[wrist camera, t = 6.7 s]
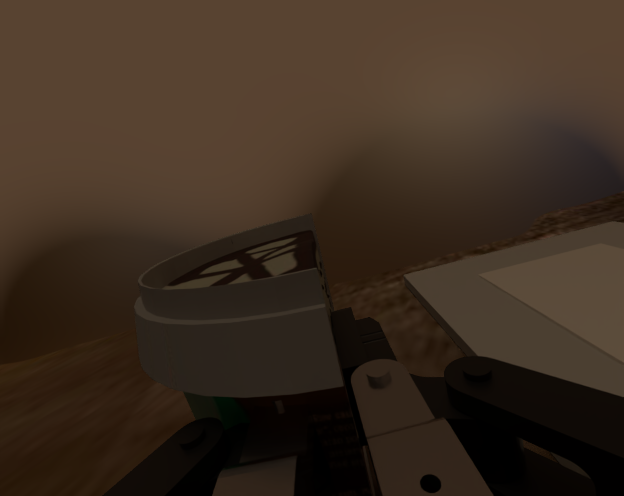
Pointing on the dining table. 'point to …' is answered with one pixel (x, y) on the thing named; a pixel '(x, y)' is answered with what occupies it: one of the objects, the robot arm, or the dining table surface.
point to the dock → (539, 306)
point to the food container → (253, 336)
